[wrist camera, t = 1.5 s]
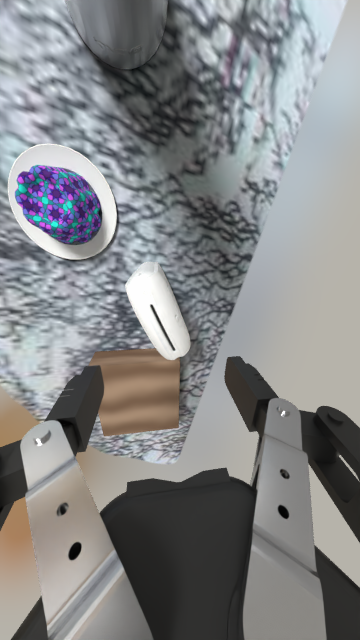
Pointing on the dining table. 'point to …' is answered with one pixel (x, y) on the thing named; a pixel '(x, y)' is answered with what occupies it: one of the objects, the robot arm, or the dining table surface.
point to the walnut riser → (138, 391)
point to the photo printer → (158, 310)
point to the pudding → (61, 201)
